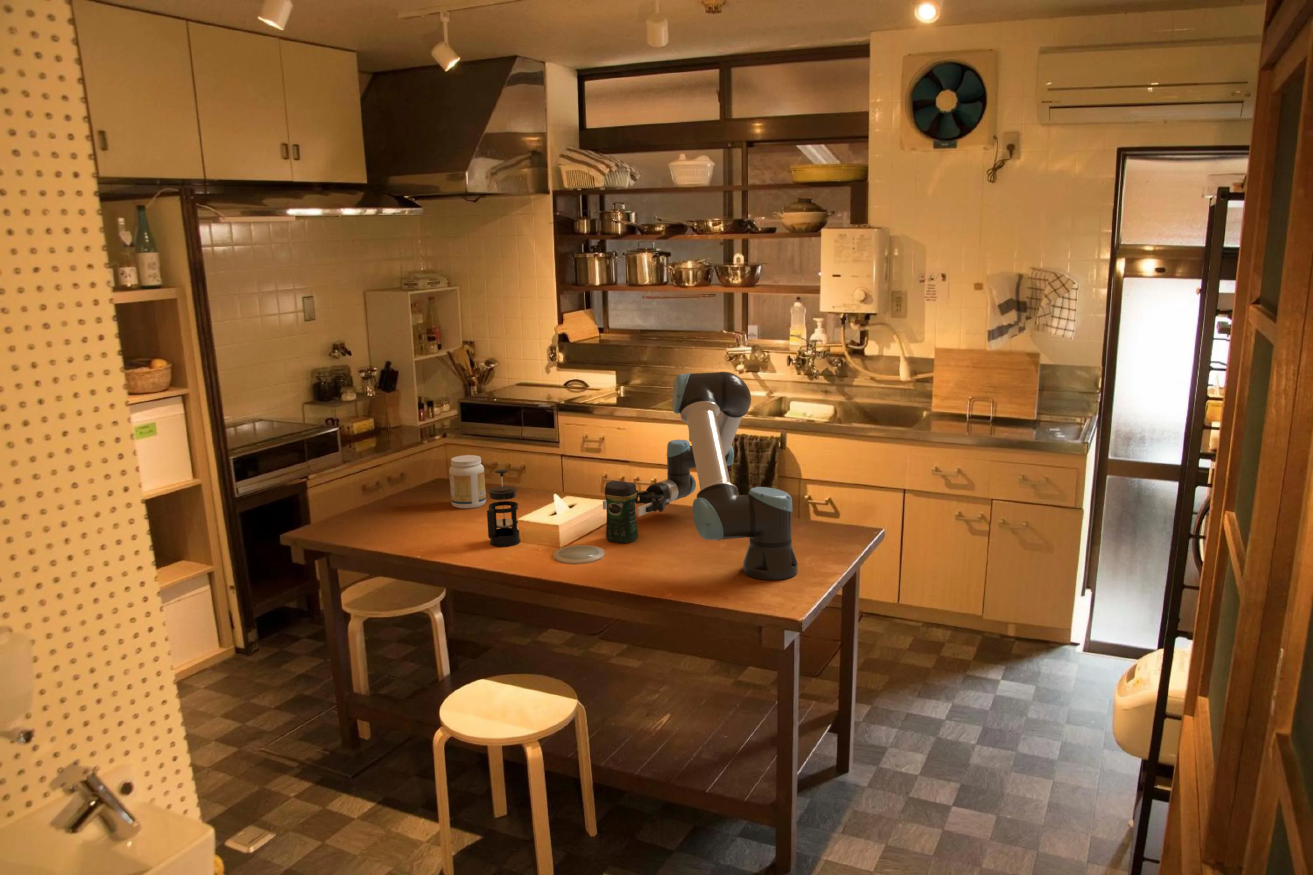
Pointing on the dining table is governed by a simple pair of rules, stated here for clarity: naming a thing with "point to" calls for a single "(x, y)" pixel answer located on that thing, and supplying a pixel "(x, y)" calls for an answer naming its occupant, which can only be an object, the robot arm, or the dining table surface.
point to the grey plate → (579, 554)
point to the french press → (504, 533)
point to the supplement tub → (467, 482)
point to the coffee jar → (621, 511)
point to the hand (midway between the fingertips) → (620, 508)
